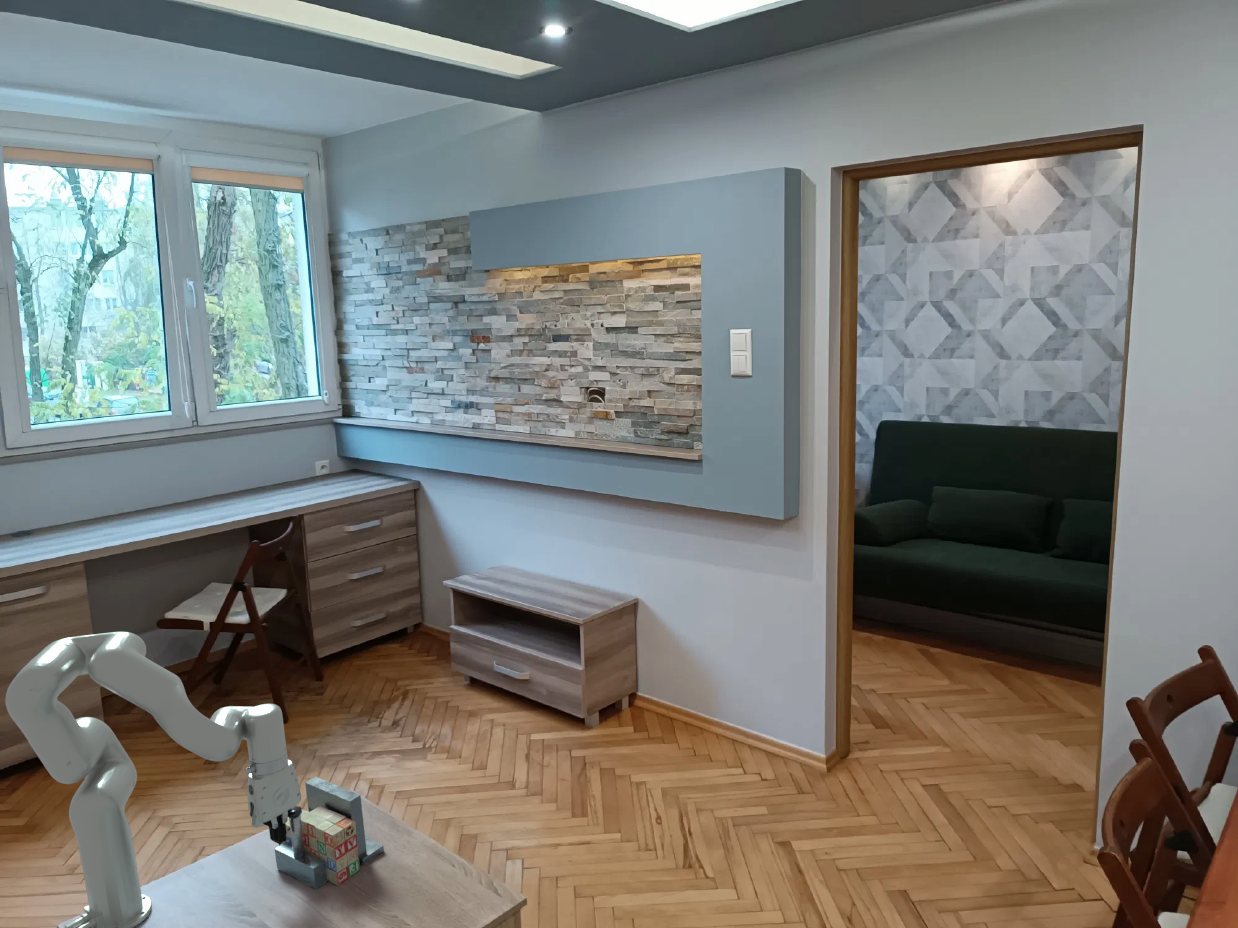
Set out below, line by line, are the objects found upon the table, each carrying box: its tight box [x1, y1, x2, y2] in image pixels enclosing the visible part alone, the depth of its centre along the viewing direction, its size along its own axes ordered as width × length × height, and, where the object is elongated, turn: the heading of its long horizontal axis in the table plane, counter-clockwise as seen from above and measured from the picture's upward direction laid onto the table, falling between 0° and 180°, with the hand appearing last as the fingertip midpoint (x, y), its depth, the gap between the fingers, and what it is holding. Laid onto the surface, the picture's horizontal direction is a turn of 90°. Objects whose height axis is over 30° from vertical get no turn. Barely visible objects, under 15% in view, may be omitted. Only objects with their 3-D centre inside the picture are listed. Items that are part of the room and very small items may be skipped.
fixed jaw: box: [304, 776, 385, 866], centre depth 206 cm, size 8×18×16 cm, turn 55°
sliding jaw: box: [274, 805, 329, 890], centre depth 196 cm, size 4×14×16 cm, turn 55°
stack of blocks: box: [278, 806, 361, 886], centre depth 201 cm, size 21×6×12 cm, turn 55°
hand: (279, 840), depth 192 cm, fingers closed
